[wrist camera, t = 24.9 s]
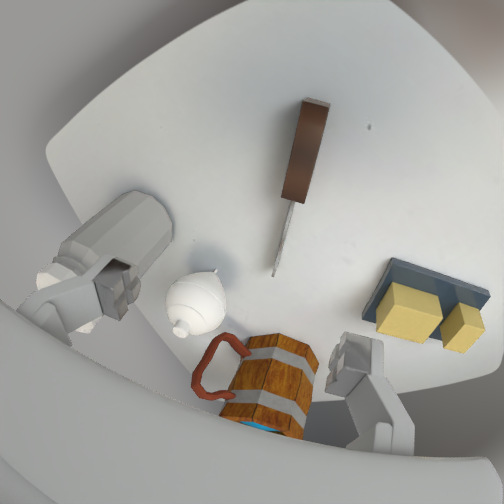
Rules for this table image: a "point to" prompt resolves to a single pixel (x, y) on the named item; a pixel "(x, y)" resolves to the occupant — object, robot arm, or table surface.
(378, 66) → the table surface
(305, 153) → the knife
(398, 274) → the butter dish
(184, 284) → the spinning top
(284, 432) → the mug
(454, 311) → the block
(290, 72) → the table surface
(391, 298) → the butter block
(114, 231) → the jar
